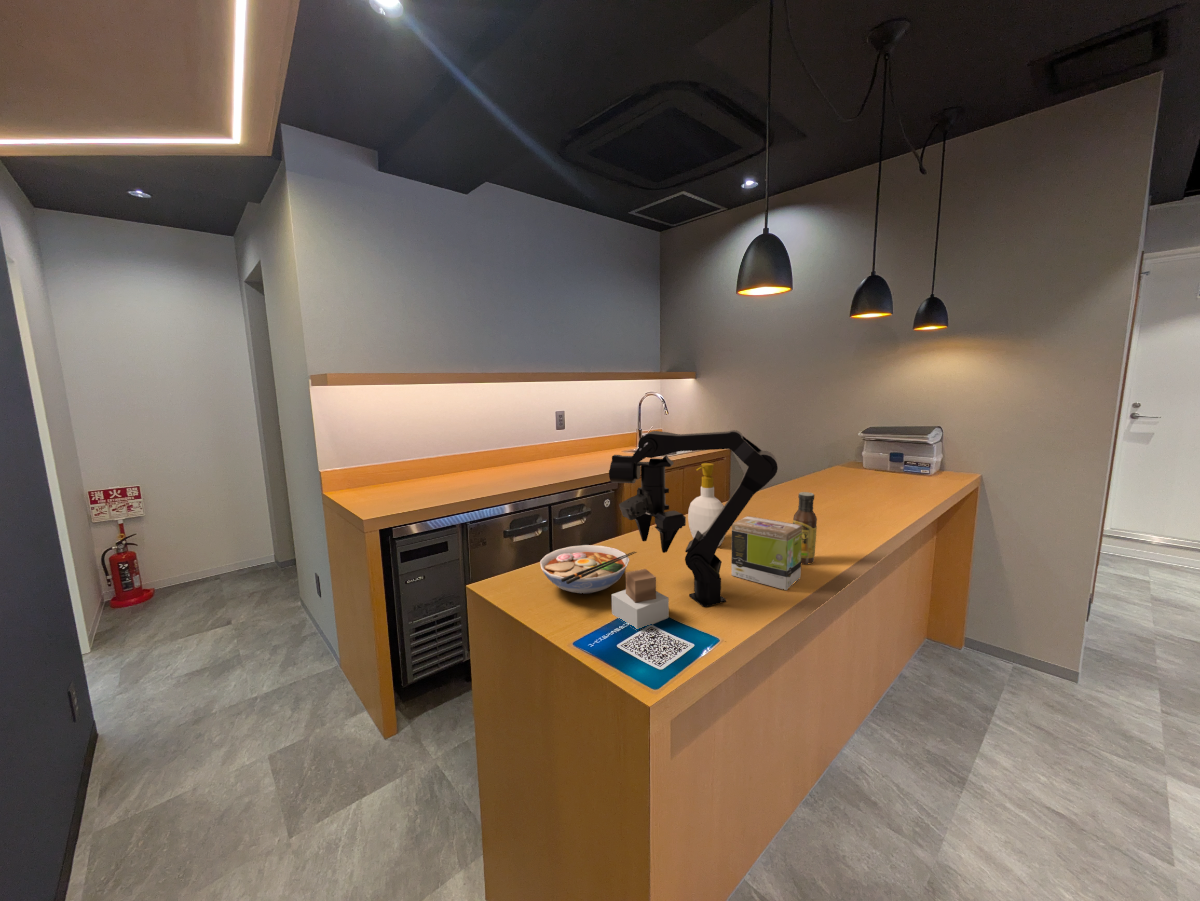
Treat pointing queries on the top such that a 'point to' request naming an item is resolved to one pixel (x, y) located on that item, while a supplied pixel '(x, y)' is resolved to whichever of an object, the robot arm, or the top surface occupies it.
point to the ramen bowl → (585, 567)
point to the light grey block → (640, 609)
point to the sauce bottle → (806, 526)
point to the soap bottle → (704, 504)
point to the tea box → (766, 551)
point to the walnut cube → (640, 585)
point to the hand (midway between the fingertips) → (654, 546)
